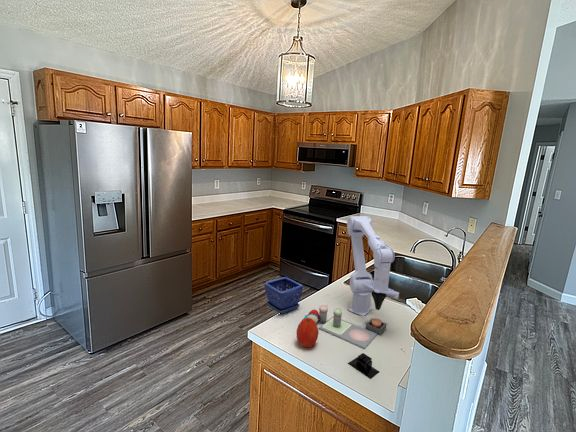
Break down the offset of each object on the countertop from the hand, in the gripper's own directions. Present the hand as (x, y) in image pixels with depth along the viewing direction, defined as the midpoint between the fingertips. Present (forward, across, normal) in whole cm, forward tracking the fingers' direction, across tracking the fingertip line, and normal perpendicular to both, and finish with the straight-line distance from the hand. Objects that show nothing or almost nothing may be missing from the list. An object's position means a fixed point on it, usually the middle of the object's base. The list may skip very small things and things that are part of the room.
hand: (378, 308), depth 125 cm
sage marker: (+9, -13, -10) cm, 18 cm away
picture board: (+9, -8, -10) cm, 16 cm away
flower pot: (+10, -40, -12) cm, 43 cm away
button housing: (+9, 0, 0) cm, 9 cm away
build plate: (+10, +6, -25) cm, 28 cm away
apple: (+10, -16, -27) cm, 33 cm away
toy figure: (+10, -22, -16) cm, 29 cm away
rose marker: (+9, -20, -10) cm, 24 cm away
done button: (+7, 0, 0) cm, 7 cm away
